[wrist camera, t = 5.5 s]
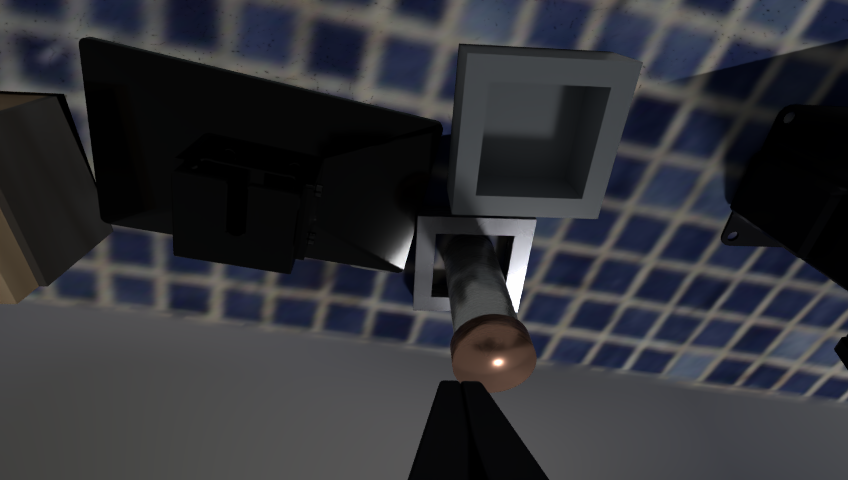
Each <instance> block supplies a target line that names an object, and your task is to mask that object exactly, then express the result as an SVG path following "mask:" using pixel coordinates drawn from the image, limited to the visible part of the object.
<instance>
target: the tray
mask: <svg viewBox="0 0 848 480" xmlns="http://www.w3.org/2000/svg"><path fill="white" fill-rule="evenodd" d="M642 64H643V62H640V61H637V60H634V59H631V58H628V57H625V56H622V55H619V54H616V53H613V52H605V51H587V50H568V49H549V48H531V47H512V46H494V45H475V44H459V49H458V60H457V72H456V84H455V95H454V107H453V118H452V130H451V142H450V153H449V165H448V177H447V192H448V197H449V202H450V207H451V212H452V214H456V215H489V216H521V217H554V218H587V219H598V216H599V212H600V209H601V205H602V202H603V198H604V195H605V191H606V188H607V184H608V181H609V178H610V174H611V171H612V167H613V164H614V160H615V157H616V153H617V150H618V146H619V143H620V140H621V136H622V133H623V129H624V126H625V122H626V119H627V115H628V112H629V108H630V105H631V102H632V98H633V95H634V91H635V88H636V84H637V81H638V77H639V74H640V70H641V67H642Z"/></svg>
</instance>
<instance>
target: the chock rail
mask: <svg viewBox="0 0 848 480" xmlns="http://www.w3.org/2000/svg"><path fill="white" fill-rule="evenodd" d="M112 232H113V229H112V227H111V224H107V223H105V222H103V221H102V220H101V218H100V211H99V203H98V195H97V187H96V182H95V179H94V176H93V174H92V171H91V168H90V165H89V162H88V160H87V157H86V154H85V151H84V148H83V146H82V143H81V140H80V137H79V134H78V132H77V129H76V126H75V123H74V121H73V118H72V115H71V112H70V109H69V107H68V104H67V101H66V98H65V95H64V94H55V93H33V92H10V91H0V304H18V303H19V302H20V301H21V300H23V299H24V298H25V297H26V296H28V295H29V294H30V293H31V292H32V291H34V290H35V289H36V288H37V287H38V286H49V285H50V284H51V283H52V282H53V281H55V280H56V279H57V278H58V277H59V276H61V275H62V274H63V273H64V272H65V271H67V270H68V269H69V268H70V267H71V266H72V265H74V264H75V263H76V262H77V261H78V260H80V259H81V258H82V257H83V256H84V255H86V254H87V253H88V252H89V251H90V250H91V249H93V248H94V247H95V246H96V245H97V244H99V243H100V242H101V241H102V240H103V239H104V238H106V237H107V236H108V235H109V234H110V233H112Z"/></svg>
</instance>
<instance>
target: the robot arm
mask: <svg viewBox="0 0 848 480" xmlns="http://www.w3.org/2000/svg"><path fill="white" fill-rule="evenodd" d="M791 111H794V112H795V117H794V119H793V120H792V121H791V122H789V123H784V121H783V120H784V117H785V115H786V114H787V113H789V112H791ZM730 208H731V210H732V214H731V216H730V218H729V220H728V222H727V225H726V227H725V229H724V231H723V233H722V236H721V241H722V243H724V244H725V245H728V246H763V247H783V248H785V249H786V250H788V251H789V252H790V253H792V254H793V255H795V256H796V257H798V258H801V259H802V260H804V261H805V262H806V263H808V264H809V265H811V266H812V267H814V268H815V269H817V270H818V271H819V272H821V273H822V274H824V275H825V276H827V277H828V278H830V279H831V280H832V281H834V282H835V283H837V284H838V285H840V286H841V287H843V288H844V289H845V290H847V291H848V107H839V106H818V105H797V104H794V105H789V106H787V107H785V108H783V109H782V110H781V111H780V112H779V114H778V115H777V117H776V119H775V121H774V123H773V125H772V128H771V130H770V132H769V134H768V136H767V138H766V141H765V143H764V145H763V147H762V149H761V151H760V152H757V153H756V154H755V155H754V156H753V158H752V160H751V162H750V164H749V166H748V169H747V171H746V173H745V175H744V177H743V180H742V182H741V184H740V186H739V188H738V190H737V193H736V195H735V197H734V199H733V201H732V204H731V206H730ZM732 232H737V233H738V234H737V236H736V238H734V239H733V240H728V239H727V238H728V235H729V234H730V233H732ZM834 350H835V352H836V353H837V355H838V356H839V358H840V359H841V361H842V362H843V364H844V365H845V367H846V368H847V369H848V335H847V336H846V337H842V338H841V339H840V341H839V342H838V344H837V345H836V347H835V348H834ZM408 480H549V479H548V477H547V476H546V475H545V473H544V472H543V470H542V469H541V467H540V466H539V464H538V463H537V461H536V460H535V459H534V457H533V456H532V454H531V453H530V451H529V450H528V449H527V447H526V446H525V444H524V443H523V441H522V440H521V438H520V437H519V436H518V434H517V433H516V431H515V430H514V428H513V427H512V426H511V424H510V423H509V421H508V420H507V418H506V417H505V415H504V414H503V413H502V411H501V410H500V408H499V407H498V406H497V404H496V403H495V401H494V400H493V398H492V397H491V395H490V394H489V392H488V391H487V390H486V388H485V387H484V385H483V384H482V383H481V382H479V381H462V382H461V383H460V382H459V381H446V380H445V381H441V382H440V384H439V386H438V389H437V392H436V395H435V398H434V401H433V404H432V407H431V411H430V413H429V417H428V419H427V423H426V426H425V429H424V432H423V435H422V438H421V441H420V444H419V447H418V450H417V453H416V456H415V459H414V462H413V465H412V468H411V471H410V474H409V477H408Z"/></svg>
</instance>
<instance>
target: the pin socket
mask: <svg viewBox="0 0 848 480" xmlns="http://www.w3.org/2000/svg"><path fill="white" fill-rule="evenodd" d="M536 221H537V220H536V218H535V217H521V216H489V215H456V214H452V212H451V207H444V206H421V210H420V213H418V219H417V224H416V243H415V263H414V283H413V310H424V311H451V309H450V302H449V294H448V287H447V285H437V284H432V278H433V265H434V252H435V239H436V234H468V235H504V236H508V239H507V245H506V251H505V257H504V262H503V268H502V274H503V277H504V280H505V283H506V285H507V288H508V291H509V294H510V297H511V300H512V303H513V306H514V309H515V312H518V307H519V302H520V297H521V293H522V288H523V283H524V278H525V273H526V269H527V264H528V259H529V254H530V250H531V245H532V240H533V235H534V230H535V226H536Z"/></svg>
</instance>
